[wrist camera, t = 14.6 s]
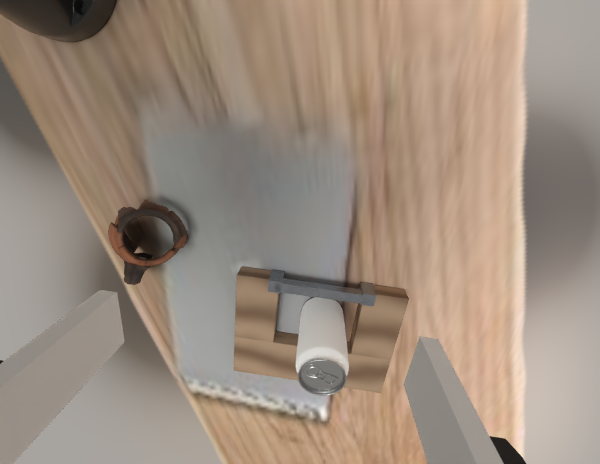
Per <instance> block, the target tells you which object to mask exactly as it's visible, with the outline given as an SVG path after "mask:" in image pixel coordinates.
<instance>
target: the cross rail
mask: <svg viewBox="0 0 600 464" xmlns="http://www.w3.org/2000/svg"><path fill="white" fill-rule="evenodd" d="M284 272H285V271H279V270H272V272H271V275H270V278H269V281H268V292H274V293H281V292H283V293H290V294H297V295H304V296H311V297H318V298H325V299H332V300H339V301H346V302H353V303H360V305H366V306H373V307H374V303H375V299H376V293H375V290H374V286H373V284H372V283H365V282H360V286H359V289H355V288H348V287H341V286H334V285H327V284H320V283H312V282H305V281H298V280H291V279H284Z"/></svg>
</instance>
